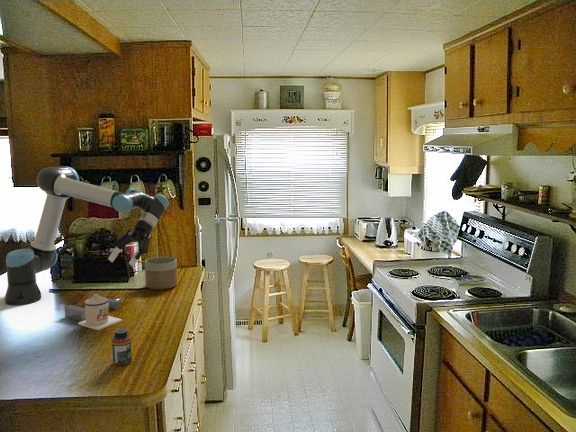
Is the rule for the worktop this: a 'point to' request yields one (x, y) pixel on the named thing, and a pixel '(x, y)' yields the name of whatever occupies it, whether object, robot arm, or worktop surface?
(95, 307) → the teacup with lid
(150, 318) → the worktop surface
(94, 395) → the worktop surface
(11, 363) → the worktop surface
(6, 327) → the worktop surface
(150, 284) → the planter
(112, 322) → the tile
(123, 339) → the supplement bottle
